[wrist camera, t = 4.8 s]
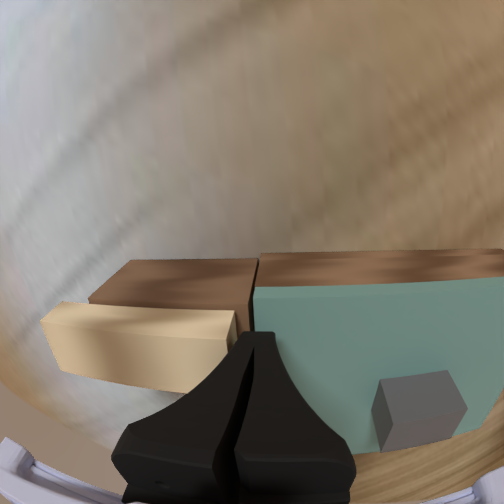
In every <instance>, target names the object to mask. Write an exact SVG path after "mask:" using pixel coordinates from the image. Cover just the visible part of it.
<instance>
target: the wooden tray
mask: <svg viewBox="0 0 504 504" xmlns="http://www.w3.org/2000/svg"><path fill="white" fill-rule="evenodd" d="M492 277H504V250H502V249H466V250H414V251H360V252H305V253H261V257H260V262H259V267H258V258H254V259H180V260H130V261H129V262H128V263H127V264H125V265H124V266H123V267H122V268H121V269H120V270H119V271H117V272H116V273H115V274H114V275H113V276H112V277H111V278H109V279H108V280H107V281H106V282H105V283H104V284H103V285H102V286H101V287H99V288H98V289H97V290H96V291H95V292H94V293H93V294H92V295H91V296H90V297H88V300H89V304H98V305H112V306H127V307H144V308H164V309H190V310H234V312H235V322H236V332H237V339H238V338H239V336H240V335H241V333H242V332H243V331H255V323H254V306H253V296H254V291H255V287H292V286H338V285H369V284H393V283H414V282H433V281H450V280H465V279H479V278H492Z"/></svg>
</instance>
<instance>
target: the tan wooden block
mask: <svg viewBox="0 0 504 504" xmlns="http://www.w3.org/2000/svg"><path fill="white" fill-rule="evenodd" d="M40 323H41V326H42V328H43V331H44V333H45V336H46V338H47V340H48V343H49V345H50V347H51V350H52V352H53V354H54V356H55V359H56V361H57V363H58V365H59V367H60V369H61V371H65V372H69V373H73V374H77V375H81V376H85V377H90V378H94V379H99V380H104V381H108V382H114V383H119V384H124V385H130V386H136V387H142V388H149V389H156V390H163V391H171V392H179V393H188V392H190V391H191V390H192V389H194V388H195V387H196V386H197V385H198V384H199V383H201V382H202V381H203V380H204V379H205V378H206V377H207V376H208V375H209V374H210V373H211V372H212V371H213V370H214V369H215V367H216V366H217V365H218V364H219V363H220V362H221V361H222V359H223V358H224V357H225V356H226V354H227V353H228V352H229V351H230V349H231V348H232V347H233V345H234V344H235V342H236V341H237V332H236V322H235V312H234V310H190V309H164V308H144V307H127V306H112V305H98V304H86V303H74V302H63V301H62V302H61V303H60V304H58V305H57V306H56V307H55V308H54V309H53V310H52V311H50V312H49V313H48V314H47V315H46V316H45V317H44V318H42V319H41V320H40Z"/></svg>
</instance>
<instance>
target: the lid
mask: <svg viewBox="0 0 504 504" xmlns="http://www.w3.org/2000/svg"><path fill="white" fill-rule="evenodd" d="M253 306H254V323H255V331H273V332H274V333H275V334H276V343H277V347H278V351H279V354H280V356H281V359H282V361H283V363H284V366H285V368H286V370H287V372H288V374H289V376H290V378H291V380H292V381H293V383H294V385H295V386H296V388H297V389H298V391H299V392H300V394H301V395H302V397H303V398H304V399H305V401H306V402H307V403H308V405H309V406H310V407H311V408H312V409H313V410H314V411H315V413H316V414H317V415H318V416H319V417H320V418H321V419H322V420H323V421H324V422H325V423H326V424H327V425H328V426H329V427H330V428H331V429H333V430H334V431H335V432H336V433H337V434H338V435H340V436H341V437H342V438H343V439H345V441H346V443H347V445H348V447H349V449H350V451H351V454H352V455H353V454H362V453H370V452H378V451H380V452H381V453H383V452H389V451H395V450H401V449H406V448H411V447H416V446H421V445H425V444H430V443H434V442H438V441H442V440H446V439H450V438H451V437H452V436H455V435H458V434H462V433H465V432H468V431H472V430H475V429H478V428H480V427H481V425H482V424H483V422H484V420H485V419H486V417H487V416H488V414H489V412H490V411H491V409H492V407H493V406H494V404H495V402H496V400H497V399H498V397H499V395H500V393H501V391H502V390H503V388H504V277H492V278H479V279H465V280H450V281H433V282H414V283H393V284H369V285H338V286H292V287H255V291H254V296H253Z"/></svg>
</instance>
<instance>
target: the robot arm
mask: <svg viewBox="0 0 504 504" xmlns="http://www.w3.org/2000/svg"><path fill="white" fill-rule="evenodd" d="M111 460H112V462H113V464H114V466H115V467H116V469H117V470H118V471H119V473H120V474H121V475H122V476H123V478H124V479H125V480H126V482H127V483H128V485H127V487H126V490H125V492H124V495H123V496H122V495H119V494H116V493H113V492H110V491H107V490H104V489H101V488H99V487H96V486H93V485H90V484H88V483H86V482H83V481H81V480H78V479H75V478H73V477H71V476H69V475H66V474H64V473H62V472H60V471H58V470H55V469H53V468H51V467H49V466H47V465H45V464H43V463H41V462H39V461H37V460H35V459H34V457H33V456H32V455H31V453H30V452H29V451H28V450H27V449H25V448H24V447H23V446H22V445H20V444H18V443H16V442H15V441H13V440H11V439H9V438H8V437H5V438H4V440H3V441H2V443H1V444H0V493H1V494H2V495H3V496H4V497H6V498H7V499H8V500H9V501H10V502H11V503H13V504H349V502H350V492H349V489H350V487H351V485H352V483H353V481H354V479H355V477H356V466H355V462H354V459H353V456H352V454H351V451H350V449H349V447H348V445H347V443H346V441H345V439H343V438H342V437H341V436H340V435H338V434H337V433H336V432H335V431H334V430H333V429H331V428H330V427H329V426H328V425H327V424H326V423H325V422H324V421H323V420H322V419H321V418H320V417H319V416H318V415H317V414H316V413H315V411H314V410H313V409H312V408H311V407H310V406H309V405H308V403H307V402H306V401H305V399H304V398H303V397H302V395H301V394H300V392H299V391H298V389H297V388H296V386H295V385H294V383H293V381H292V380H291V378H290V376H289V374H288V372H287V370H286V368H285V366H284V363H283V361H282V359H281V356H280V354H279V351H278V347H277V343H276V334H275V333H274V332H273V331H243V332H242V333H241V335H240V336H239V338H238V339H237V341H236V342H235V344H234V345H233V347H232V348H231V349H230V351H229V352H228V353H227V354H226V356H225V357H224V358H223V359H222V361H221V362H220V363H219V364H218V365H217V366H216V367H215V369H214V370H213V371H212V372H211V373H210V374H209V375H208V376H207V377H206V378H205V379H204V380H203V381H202V382H201V383H199V384H198V385H197V386H196V387H195V388H194V389H192V390H191V391H190V392H188V393H187V394H186V395H184V396H183V397H182V398H180V399H179V400H177V401H176V402H174V403H173V404H171V405H169V406H168V407H166V408H164V409H162V410H160V411H159V412H157V413H155V414H153V415H150V416H148V417H146V418H143V419H141V420H139V421H136V422H134V423H131V424H128V426H127V427H126V429H125V430H124V432H123V433H122V435H121V437H120V439H119V441H118V443H117V445H116V447H115V449H114V451H113V453H112V455H111ZM419 504H504V466H502V467H499V468H497V469H495V470H493V471H490V472H488V473H486V474H484V475H483V476H481V477H480V478H479V479H478V480H477V481H476V482H475V483H474V484H473V486H472V487H469V488H466V489H464V490H461V491H458V492H455V493H452V494H449V495H446V496H443V497H440V498H436V499H433V500H430V501H426V502H422V503H419Z"/></svg>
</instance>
